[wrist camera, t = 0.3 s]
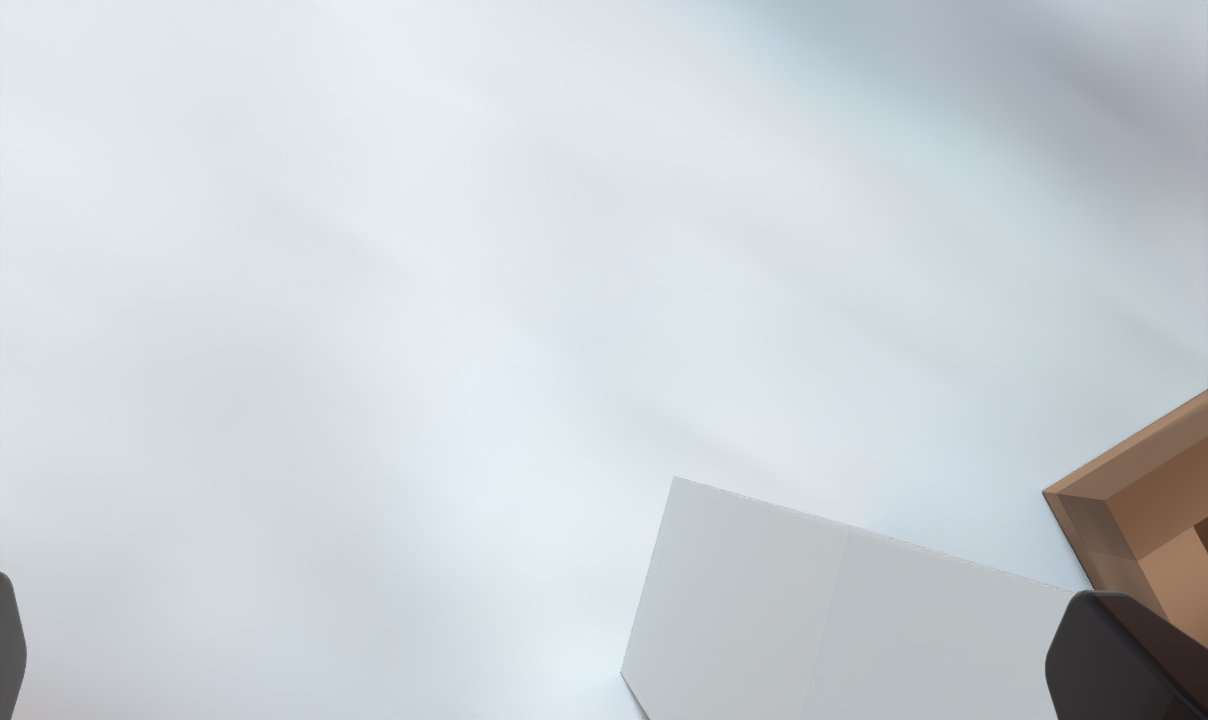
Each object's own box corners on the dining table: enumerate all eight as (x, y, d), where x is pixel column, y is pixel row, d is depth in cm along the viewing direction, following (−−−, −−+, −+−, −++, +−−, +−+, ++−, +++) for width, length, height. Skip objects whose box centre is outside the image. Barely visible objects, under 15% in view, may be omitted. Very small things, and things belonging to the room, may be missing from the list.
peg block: (808, 720, 25) (1086, 965, 14) (620, 672, 24) (755, 887, 13) (859, 528, 25) (1167, 620, 14) (674, 475, 25) (849, 531, 14)
